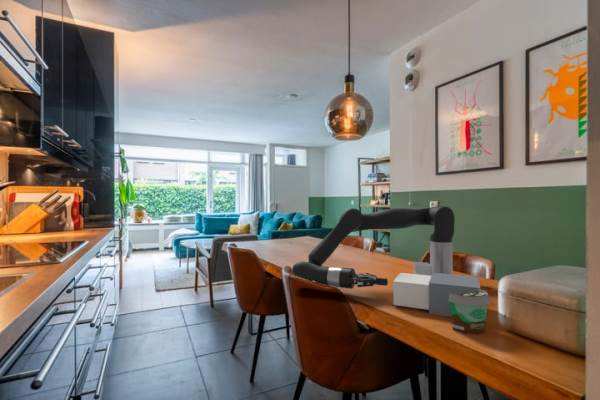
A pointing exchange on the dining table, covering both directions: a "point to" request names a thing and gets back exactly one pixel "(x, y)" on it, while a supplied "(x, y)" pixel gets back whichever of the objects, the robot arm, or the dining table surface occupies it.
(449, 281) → the sleeve
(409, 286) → the white cuboid
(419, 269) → the small box
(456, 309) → the food container
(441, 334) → the dining table surface
